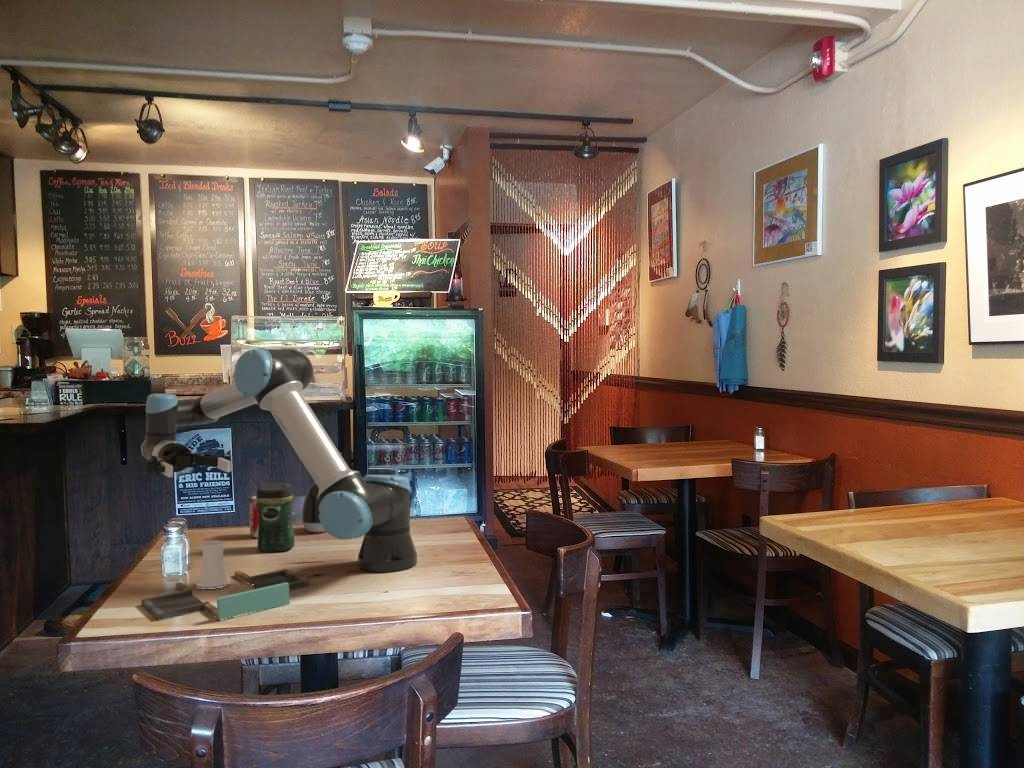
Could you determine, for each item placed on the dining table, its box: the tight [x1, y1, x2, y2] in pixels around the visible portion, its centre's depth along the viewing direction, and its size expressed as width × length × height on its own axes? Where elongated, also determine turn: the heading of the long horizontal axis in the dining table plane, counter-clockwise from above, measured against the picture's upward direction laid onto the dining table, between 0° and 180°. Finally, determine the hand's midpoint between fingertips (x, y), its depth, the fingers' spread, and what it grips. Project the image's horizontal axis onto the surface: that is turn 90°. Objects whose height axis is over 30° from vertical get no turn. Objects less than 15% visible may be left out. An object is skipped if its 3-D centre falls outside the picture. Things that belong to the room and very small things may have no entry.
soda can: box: [248, 495, 259, 539], centre depth 212 cm, size 7×7×12 cm
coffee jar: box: [255, 482, 295, 553], centre depth 197 cm, size 10×8×19 cm
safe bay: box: [216, 582, 290, 620], centre depth 148 cm, size 1×15×4 cm, turn 132°
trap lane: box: [141, 568, 310, 621], centre depth 159 cm, size 27×33×1 cm
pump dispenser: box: [301, 482, 327, 534], centre depth 218 cm, size 10×10×15 cm
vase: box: [195, 540, 232, 591], centre depth 166 cm, size 8×8×10 cm
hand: (201, 469), depth 171 cm, fingers open, 13 cm apart
